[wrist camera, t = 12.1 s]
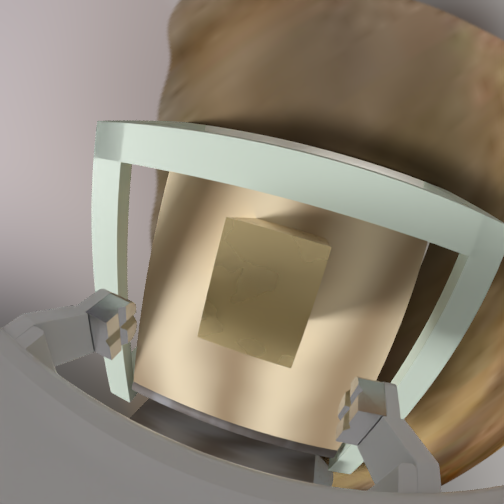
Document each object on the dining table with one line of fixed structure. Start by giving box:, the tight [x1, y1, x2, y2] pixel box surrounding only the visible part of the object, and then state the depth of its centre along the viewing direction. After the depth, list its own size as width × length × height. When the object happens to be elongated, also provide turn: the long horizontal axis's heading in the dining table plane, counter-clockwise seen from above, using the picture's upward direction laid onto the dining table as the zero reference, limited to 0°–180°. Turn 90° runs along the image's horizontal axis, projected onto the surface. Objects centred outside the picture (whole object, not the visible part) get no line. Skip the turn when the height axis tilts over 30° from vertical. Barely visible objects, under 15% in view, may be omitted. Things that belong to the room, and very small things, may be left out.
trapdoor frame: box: [92, 121, 504, 474], centre depth 20 cm, size 21×21×10 cm
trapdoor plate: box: [129, 171, 427, 483], centre depth 19 cm, size 16×24×5 cm
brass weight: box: [197, 217, 332, 368], centre depth 14 cm, size 4×5×6 cm
